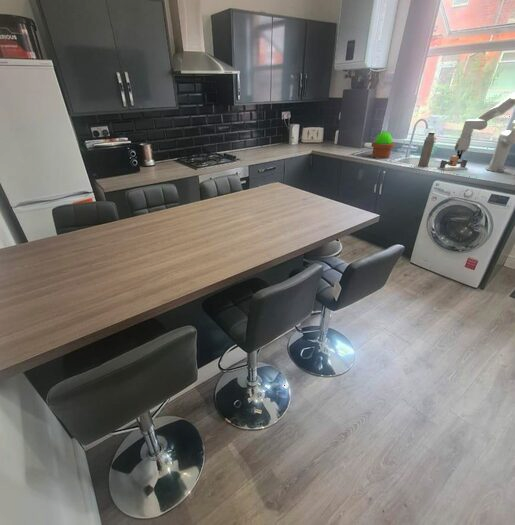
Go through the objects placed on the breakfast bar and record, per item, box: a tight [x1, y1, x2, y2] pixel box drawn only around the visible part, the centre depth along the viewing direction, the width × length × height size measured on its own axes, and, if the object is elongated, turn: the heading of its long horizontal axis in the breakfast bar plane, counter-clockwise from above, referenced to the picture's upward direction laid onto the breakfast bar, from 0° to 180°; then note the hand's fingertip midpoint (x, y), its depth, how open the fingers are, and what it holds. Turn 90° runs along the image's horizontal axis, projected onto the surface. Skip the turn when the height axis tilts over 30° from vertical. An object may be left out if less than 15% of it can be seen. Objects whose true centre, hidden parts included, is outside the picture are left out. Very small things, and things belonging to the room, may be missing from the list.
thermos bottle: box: [418, 132, 436, 167], centre depth 263 cm, size 8×8×28 cm
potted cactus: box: [370, 130, 395, 159], centre depth 303 cm, size 22×22×25 cm
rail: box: [436, 158, 468, 171], centre depth 256 cm, size 10×22×7 cm, turn 98°
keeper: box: [447, 155, 459, 166], centre depth 255 cm, size 5×4×8 cm
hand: (458, 158), depth 255 cm, fingers closed
